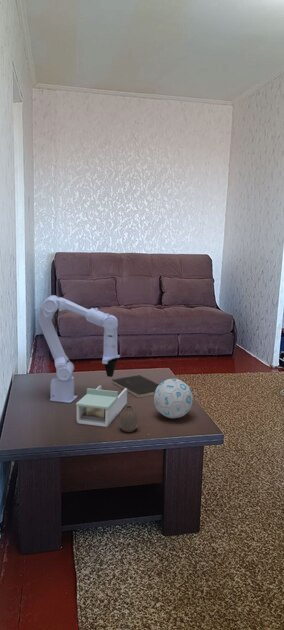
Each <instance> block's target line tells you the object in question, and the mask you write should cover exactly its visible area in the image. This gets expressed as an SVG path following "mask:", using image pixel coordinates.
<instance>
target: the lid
mask: <svg viewBox="0 0 284 630" xmlns="http://www.w3.org/2000/svg"><path fill="white" fill-rule="evenodd" d="M118 396H119V391H117V390H116V391H115V390H108V389H107V390H106V389H102V390H100V389H96V388H90V387H89V388H88V387H87V388H86V394H85V395H84V396H82V398H80V399H79V400H78V401H77V402H76V403H75V406H76V407H77V406H84V407H92V408H101V409H109V408H110V407H111V406H112V405H113V403H114V402H115V401H116V400H117V399H118Z"/></svg>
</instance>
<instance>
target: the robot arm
mask: <svg viewBox="0 0 284 630" xmlns="http://www.w3.org/2000/svg"><path fill="white" fill-rule="evenodd" d="M57 311H58V312H64V311H69V312H72V313H74V314H77V315H80V316H82V317H85V319H86V321H87V322H89V323H92V324H94V325H96V326H98V327H103V329H104V331H103V346H102V347H103V354H102V361H101V364H103V366H104V368H105V373H106V377H110V378H112V377H113V376H114V373H115V368H116V366H117V363H118V361H119V358H121V355H120V354H118V323H119V322H118V318H117V317H116V316H114V315H113V314H109V313H108V312H107V313H105V312H103V311H101V310H99V308H98V307H95V308H94V307H91V308H90V309H88V308H85V307H84V306H82V305H79V304H77V303H75V302H73V301H71V300H69V299H67V298H64V297H61V296H58V295H55V294H52V295H49V296H48V297H46V299H44V300H43V301H42V303H41V304H40V306H39V314H38V321H37V322H38V323H39V326H40V328H41V331H42V334H43V336H44V339H45V341H46V343H47V345H48V348H49V350H50V353H51V356H52V358H53V360H54V366H55V370H56V372H55V375H56V377H53V378H52V379H51V381H50V384H49V385H50V386H49V387H50V395H49V396H50V398H49V401H50V402H51V401H52V402H59V403H66V404H71V403H72V402H74V401H75V400H76V399H77V398H78V395H75V377H74V376H73V372H74V371H75V364H73V362H72V361H70V359H69V357H68V356H67V354H66V353H65V350H64V348H63V345H62V343H61V340H60V338H59V336H58V333H57V331H56V328H55V326H54V323H53V321H52V319H53V318H54V315H55V313H56V312H57Z"/></svg>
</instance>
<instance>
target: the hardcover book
mask: <svg viewBox="0 0 284 630" xmlns="http://www.w3.org/2000/svg"><path fill="white" fill-rule="evenodd" d="M111 381H112V384H114V385H115V384H116V386H117V387H118V388H120V389H122V388H123V390H124V389H125V388H127V393H129V392H130V394H131V395H133V396H135V397H136V398H142V397H143V398H144V397H149V396H154V394H155V390H156V388H157V387H158V385H159V384H160V383H156V382H155V381H153V380H151V379H149V378H147V377H144V376H143V375H142V374H139V375H131V376H125V377H119V378H113V379H111Z"/></svg>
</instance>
